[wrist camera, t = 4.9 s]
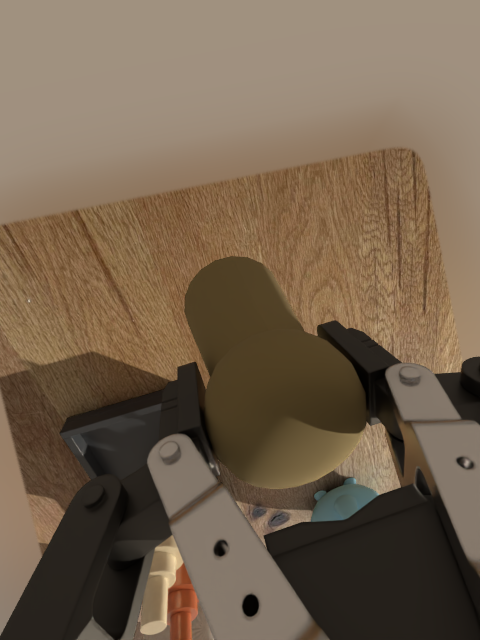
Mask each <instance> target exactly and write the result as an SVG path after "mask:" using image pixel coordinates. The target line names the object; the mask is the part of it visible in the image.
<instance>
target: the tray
mask: <svg viewBox="0 0 480 640" xmlns="http://www.w3.org/2000/svg"><path fill="white" fill-rule="evenodd" d="M162 392H163V390H160V391H157V392H153V393H150V394H147V395H143V396H140V397H137V398H133V399H130V400H126V401H123V402H120V403H116V404H113V405H110V406H106V407H103V408H99V409H96V410H93V411H89V412H86V413H83V414H79V415H76V416H72V417H69V418H67V420H66V422H65V424H64V426H63V428H62V430H61V432H60V435H61V437H62V438H63V439H64V441H65V442H66V444H67V445H68V447H69V448H70V450H71V451H72V452H73V454H74V455H75V457H76V458H77V460H78V461H79V463H80V464H81V466H82V467H83V468H84V470H85V471H86V473H87V474H88V476H89V477H90V479H91V480H92V479H94V478H96V477H98V476H101V475H105V474H112V475H115V476H117V477H118V478H119V480H120V481H121V480H122V479H124V478H126V477H127V476H129V475H130V474H132V473H134V472H135V471H137V470H138V469H140V468H141V467H143V466H144V465H145V464H146V463H147V459H148V455H149V453H150V451H151V449H152V448H153V447H154V446H155V445H156V444H157V443H158V441H159V428H160V415H161V404H162ZM215 477H216V476H215ZM216 479H217V477H216ZM217 480H218V479H217Z"/></svg>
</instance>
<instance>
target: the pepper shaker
mask: <svg viewBox="0 0 480 640" xmlns="http://www.w3.org/2000/svg"><path fill="white" fill-rule="evenodd" d="M184 312H185V315H186V318H187V321H188V324H189V327H190V329H191V332H192V334H193V336H194V339H195V341H196V344H197V346H198V348H199V351H200V353H201V356H202V358H203V361H204V363H205V365H206V368H207V370H208V373H209V375H210V377H211V378H210V380H209V382H208V385H207V389H206V393H205V404H204V421H205V428H206V431H207V434H208V437H209V439H210V442H211V445H212V448H213V450H214V452H215V454H216V456H217V458H218V459H219V460H220V461H221V462H222V463H223V464H224V465H225V466H226V467H227V468H228V469H229V471H231V472H232V473H233V474H234V475H235V476H236V477H237V478H239V479H240V480H242V481H244V482H246V483H249V484H251V485H253V486H255V487H261V488H269V489H282V488H291V487H298V486H301V485H304V484H307V483H310V482H313V481H316V480H317V479H319V478H321V477H323V476H324V475H326V474H328V473H330V472H332V471H333V470H334V469H335V468H336V467H338V466H339V465H340V464H341V463H342V462H343V461H344V460H345V459H347V458H348V457H349V456H350V454H351V453H352V452H353V450H354V449H355V447H356V446H357V444H358V443H359V442H360V440H361V437H362V434H363V432H364V429H365V426H366V392H365V390H364V388H363V386H362V384H361V382H360V380H359V377H358V375H357V373H356V371H355V369H354V367H353V365H352V363H351V362H350V361H349V360H348V359H347V358H346V357H345V356H344V355H343V354H342V353H341V352H339V351H338V350H337V349H336V348H335V347H334V346H332V345H331V344H330V343H329V342H328V341H327V340H324V339H322V338H320V337H318V336H315V335H312V334H309V333H307V332H305V331H304V329H303V327H302V326H301V324H300V322H299V320H298V318H297V316H296V315H295V313H294V311H293V309H292V307H291V305H290V304H289V302H288V300H287V298H286V296H285V294H284V293H283V291H282V289H281V287H280V285H279V283H278V282H277V280H276V278H275V276H274V274H273V273H272V272H271V271H270V270H269V269H268V268H266V267H265V266H264V265H263V264H262V263H260V262H257V261H255V260H253V259H250V258H248V257H234V256H231V257H227V258H223V259H219V260H215V261H214V262H212V263H210V264H209V265H207V266H206V267H204V268H203V269H201V270H200V271H199V273H198V274H197V275H196V276H195V277H194V279H193V280H192V281H191V282H190V285H189V288H188V290H187V293H186V295H185V311H184Z"/></svg>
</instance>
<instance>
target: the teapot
mask: <svg viewBox="0 0 480 640" xmlns="http://www.w3.org/2000/svg"><path fill="white" fill-rule="evenodd" d="M378 495H379V494H378V493H377V492H376V491H374V490H373V489H370V488H368V487H365V486H362V485H358V484H356V480H355V478H348V479H347V480H345V481H344V485H343V486H340V487H337V488H335V489H333V490H331V491H329V492H328V493H326V491H323V490H322V491H318V492H317V493H316V494H315V495H314V498H315V499H316V500H317V501H318V502H317V504H316V505H315V508H314V510H313V514H312V517H311V522H316V521H335V520H345V519H347V518H349V517H350V516H352V515H353V514H354V513H356V512H357V511H358V510H359V509H361V508H362V507H363V506H365V505H366V504H367V503H369V502H370V501H371V500H373V499H374V498H375V497H377V496H378Z"/></svg>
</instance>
